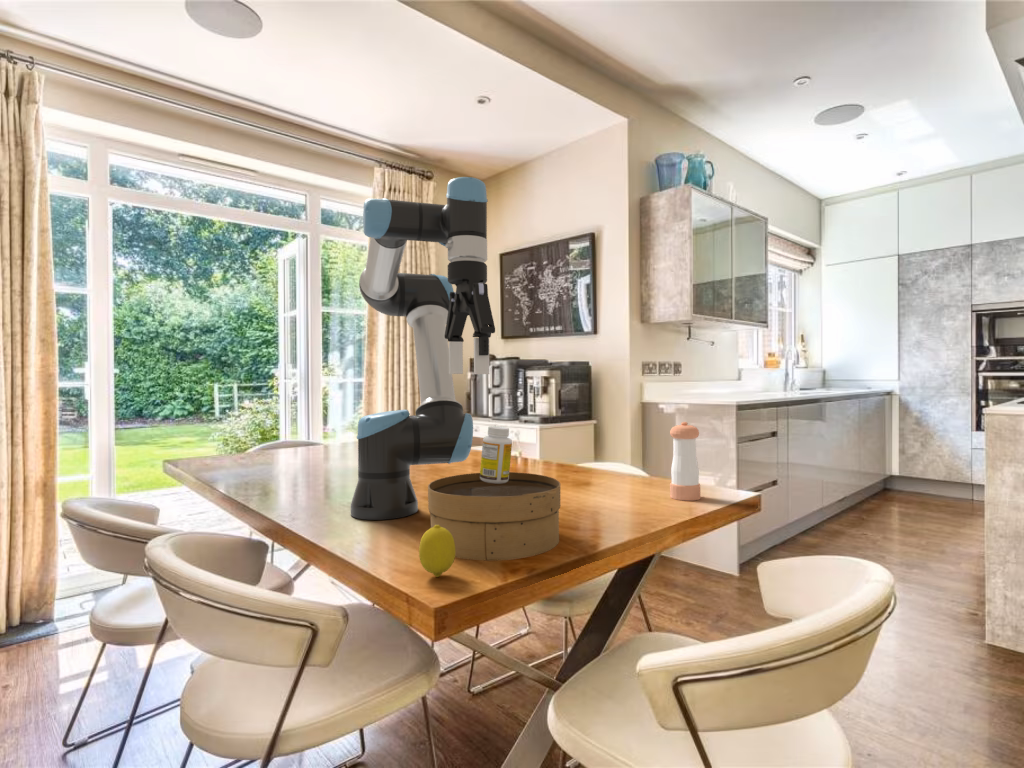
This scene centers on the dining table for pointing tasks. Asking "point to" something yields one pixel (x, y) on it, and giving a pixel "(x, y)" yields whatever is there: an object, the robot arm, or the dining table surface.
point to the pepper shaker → (684, 463)
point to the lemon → (437, 550)
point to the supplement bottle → (496, 455)
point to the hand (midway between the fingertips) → (468, 374)
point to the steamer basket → (497, 515)
